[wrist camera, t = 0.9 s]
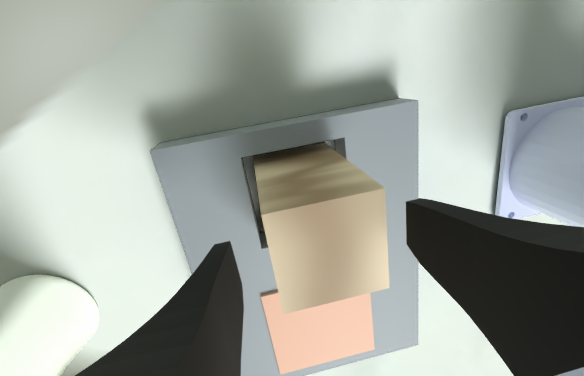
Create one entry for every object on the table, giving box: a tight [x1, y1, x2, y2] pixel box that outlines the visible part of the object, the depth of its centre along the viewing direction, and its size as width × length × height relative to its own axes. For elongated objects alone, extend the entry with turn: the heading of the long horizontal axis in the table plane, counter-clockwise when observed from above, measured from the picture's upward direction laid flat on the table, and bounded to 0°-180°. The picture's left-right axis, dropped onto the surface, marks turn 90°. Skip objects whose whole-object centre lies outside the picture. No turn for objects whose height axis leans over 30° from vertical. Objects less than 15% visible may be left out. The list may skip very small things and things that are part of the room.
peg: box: [253, 143, 390, 314], centre depth 14 cm, size 4×4×8 cm
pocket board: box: [150, 98, 418, 376], centre depth 19 cm, size 14×18×2 cm
